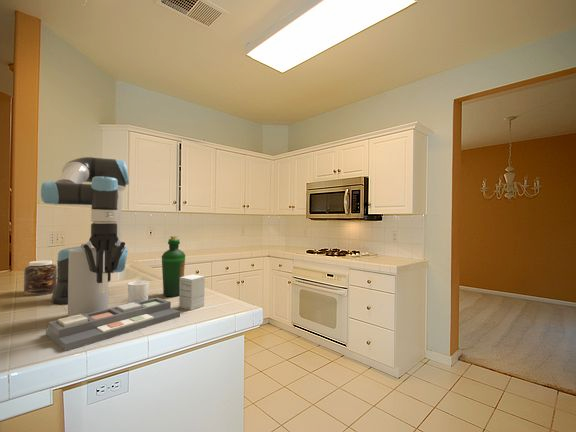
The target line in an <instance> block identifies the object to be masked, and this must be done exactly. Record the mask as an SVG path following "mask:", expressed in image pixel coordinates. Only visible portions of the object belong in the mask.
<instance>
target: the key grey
mask: <svg viewBox="0 0 576 432" xmlns="http://www.w3.org/2000/svg"><path fill="white" fill-rule="evenodd" d="M115 307H116V310H119V311H121V312H123V313H124V312H128V311H132V310H136V309H140V308H141V305H139V304H137V303H134V302H133V303H129V302H128V303H124V304H120V305H116V306H115Z"/></svg>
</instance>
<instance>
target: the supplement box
mask: <svg viewBox="0 0 576 432" xmlns="http://www.w3.org/2000/svg"><path fill="white" fill-rule="evenodd" d="M178 304H179V308H180V309H181V308H182V309H184V310H190V311H192V310H195V309H198V308H201V307H204V306H205V276H204V275H198V274H189V275H184V277H180V295H179V303H178Z"/></svg>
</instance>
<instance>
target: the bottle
mask: <svg viewBox="0 0 576 432" xmlns="http://www.w3.org/2000/svg"><path fill="white" fill-rule="evenodd" d="M180 244H181V242H180V238H178V236H176V235H175V236H174V235H172V236H171V235H170V238H169V239H168V242H167V245H168V248H169V249H167V250H166V251H165V252H163V253H162V255H161V269H162V270H161V272H162V291H163V293H162V294H163V296H165V297H168V298H170V297H171V298H173V297H178V296H179V297H180V277H184V276H185V266H186V265H185V264H186V254H185V253H184V251H183V250H181V249H179V247H180Z"/></svg>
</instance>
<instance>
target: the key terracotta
mask: <svg viewBox="0 0 576 432" xmlns="http://www.w3.org/2000/svg"><path fill="white" fill-rule="evenodd" d="M111 315H113V314H111V313H109V312H108V313H103V314H99V315H95V316H91V317H92V318H94V319H99V318H103V317H107V316H111Z"/></svg>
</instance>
